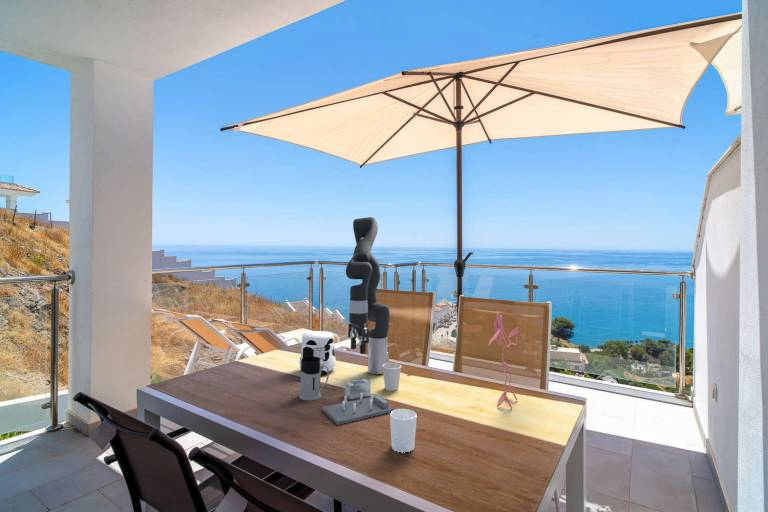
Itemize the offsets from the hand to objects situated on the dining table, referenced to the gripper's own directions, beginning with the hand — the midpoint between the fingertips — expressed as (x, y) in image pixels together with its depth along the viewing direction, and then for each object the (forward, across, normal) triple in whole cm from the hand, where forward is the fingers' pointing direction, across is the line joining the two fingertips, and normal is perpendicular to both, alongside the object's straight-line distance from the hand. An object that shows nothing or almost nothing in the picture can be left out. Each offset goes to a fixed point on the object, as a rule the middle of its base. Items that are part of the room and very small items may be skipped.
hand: (357, 351), depth 155 cm
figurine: (+18, -32, -45) cm, 58 cm away
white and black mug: (+18, +6, +16) cm, 25 cm away
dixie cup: (+18, 0, -16) cm, 24 cm away
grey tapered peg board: (+18, -14, +7) cm, 24 cm away
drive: (+18, 0, 0) cm, 18 cm away
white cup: (+18, -44, +6) cm, 48 cm away
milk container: (+18, +38, +3) cm, 42 cm away
